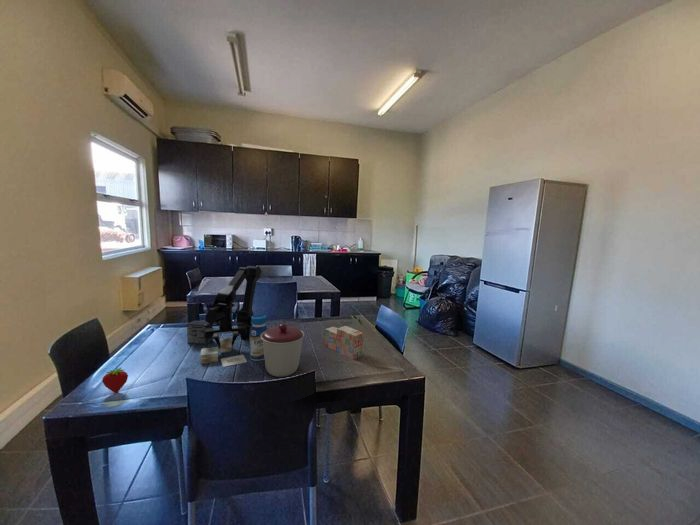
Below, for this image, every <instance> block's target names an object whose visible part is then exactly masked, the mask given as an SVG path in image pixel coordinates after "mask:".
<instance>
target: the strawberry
mask: <svg viewBox="0 0 700 525" xmlns="http://www.w3.org/2000/svg"><path fill="white" fill-rule="evenodd" d="M117 367H118V365H117V364H116V366H115V368H116V369H115V370H111V369H110V370H109V371H106V372H105V373H106V374H105V375H103V377H102V379H101V382H102V383H103V386H105V388H107V389H108V390H109V391H111V392H113V393H117V394H118V392H120V390H121V389H122V388H123V387H124V386H125V384H126V383H127V381H128V378H129V375H128V372H125V370H124V369H122V367H120V368H117Z"/></svg>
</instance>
